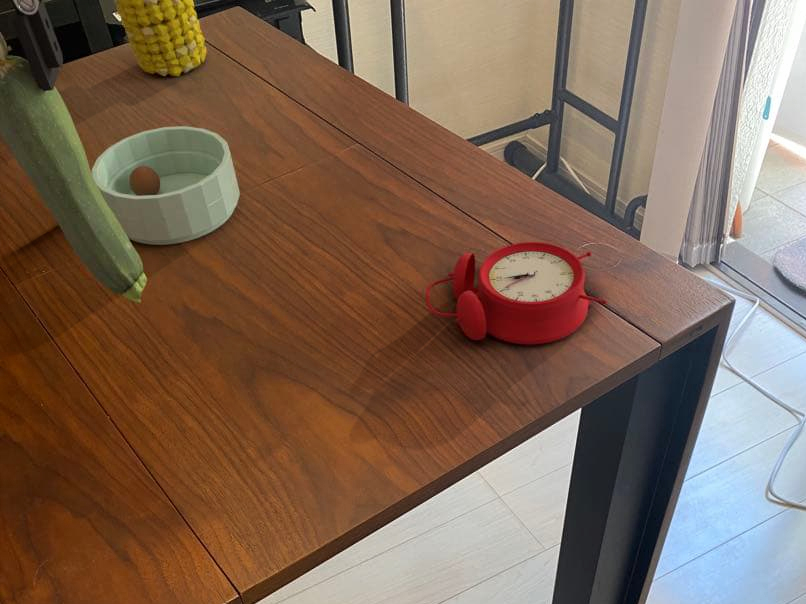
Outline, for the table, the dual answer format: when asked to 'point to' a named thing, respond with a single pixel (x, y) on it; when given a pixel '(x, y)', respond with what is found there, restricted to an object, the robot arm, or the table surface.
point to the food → (163, 34)
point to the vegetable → (64, 176)
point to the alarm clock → (520, 294)
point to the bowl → (170, 184)
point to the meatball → (144, 181)
